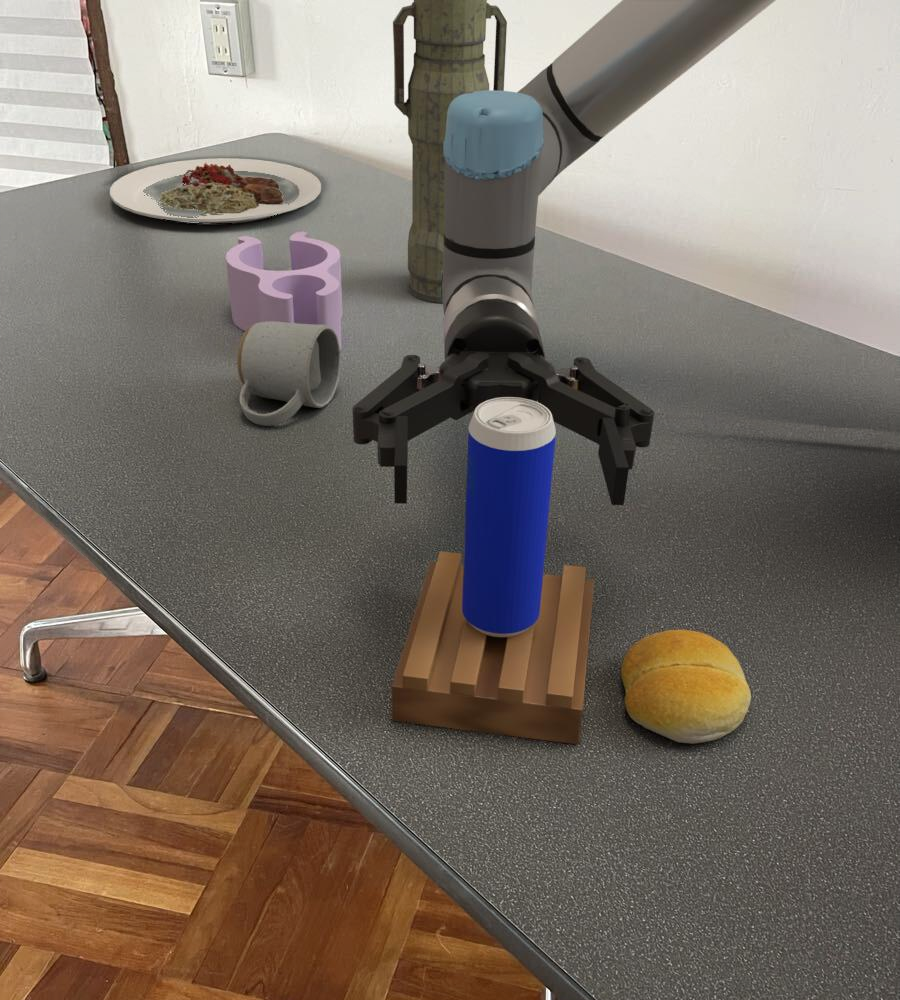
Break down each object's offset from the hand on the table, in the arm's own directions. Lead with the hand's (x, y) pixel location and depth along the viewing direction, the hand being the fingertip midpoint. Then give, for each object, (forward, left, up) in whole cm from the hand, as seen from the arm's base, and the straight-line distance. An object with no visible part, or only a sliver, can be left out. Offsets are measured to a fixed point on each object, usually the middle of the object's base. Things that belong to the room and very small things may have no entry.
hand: (510, 486), depth 66 cm
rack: (0, +1, -14) cm, 14 cm away
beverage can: (0, +1, -10) cm, 10 cm away
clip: (+30, -53, -14) cm, 63 cm away
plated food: (+53, -95, -14) cm, 110 cm away
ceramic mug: (+25, -34, -14) cm, 45 cm away
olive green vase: (+15, -67, -14) cm, 70 cm away
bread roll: (-12, +2, -14) cm, 19 cm away
